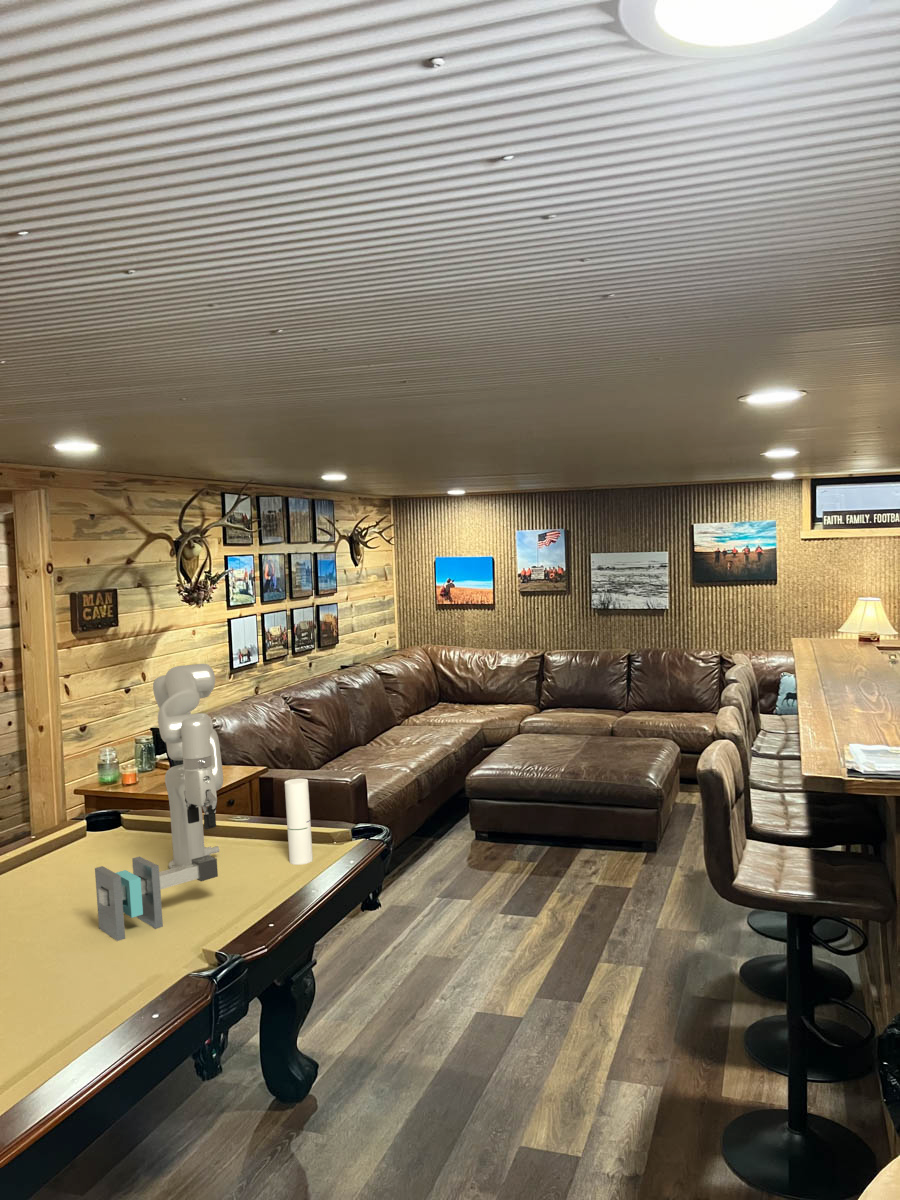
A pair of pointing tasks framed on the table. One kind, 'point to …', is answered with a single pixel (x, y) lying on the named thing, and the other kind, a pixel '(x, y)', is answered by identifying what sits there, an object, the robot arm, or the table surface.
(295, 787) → the cylindrical container
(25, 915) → the table surface
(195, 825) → the robot arm
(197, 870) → the shaft
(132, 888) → the spacer
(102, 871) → the pair of grey plates
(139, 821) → the table surface
